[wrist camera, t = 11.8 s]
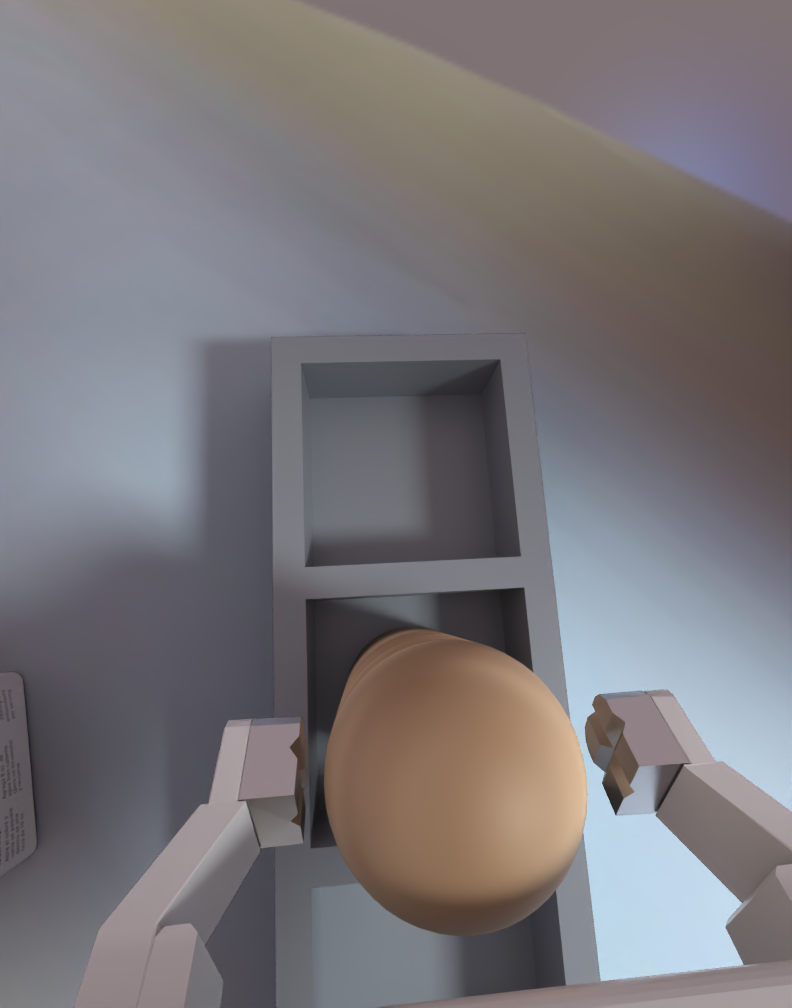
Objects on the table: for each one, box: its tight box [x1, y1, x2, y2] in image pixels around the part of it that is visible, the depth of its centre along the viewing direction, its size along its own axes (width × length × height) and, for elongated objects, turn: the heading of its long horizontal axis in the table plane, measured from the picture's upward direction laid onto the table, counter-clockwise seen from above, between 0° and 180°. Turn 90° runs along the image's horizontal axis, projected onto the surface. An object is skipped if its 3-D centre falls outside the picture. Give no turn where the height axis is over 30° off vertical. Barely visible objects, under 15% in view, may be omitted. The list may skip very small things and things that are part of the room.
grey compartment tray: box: [271, 333, 600, 1008], centre depth 17 cm, size 9×25×4 cm, turn 3°
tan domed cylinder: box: [324, 626, 588, 936], centre depth 13 cm, size 5×5×11 cm
